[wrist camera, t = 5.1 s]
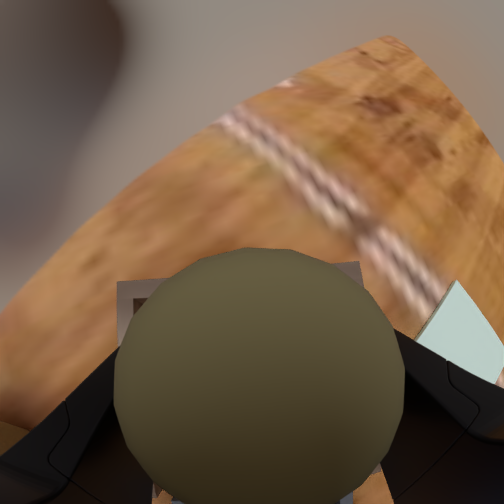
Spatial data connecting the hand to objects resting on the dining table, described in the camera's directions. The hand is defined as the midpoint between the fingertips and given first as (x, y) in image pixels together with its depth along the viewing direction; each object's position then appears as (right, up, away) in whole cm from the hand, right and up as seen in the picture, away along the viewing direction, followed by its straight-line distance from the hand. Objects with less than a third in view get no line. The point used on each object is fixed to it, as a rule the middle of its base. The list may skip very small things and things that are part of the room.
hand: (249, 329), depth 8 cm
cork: (0, -4, +6) cm, 7 cm away
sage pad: (+18, -8, +12) cm, 23 cm away
